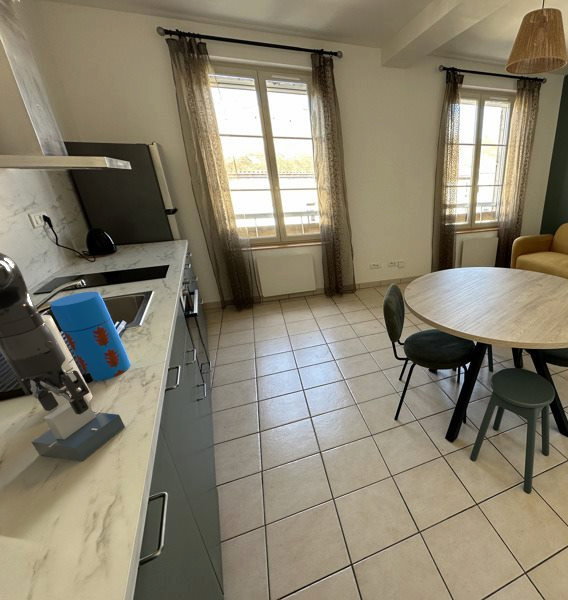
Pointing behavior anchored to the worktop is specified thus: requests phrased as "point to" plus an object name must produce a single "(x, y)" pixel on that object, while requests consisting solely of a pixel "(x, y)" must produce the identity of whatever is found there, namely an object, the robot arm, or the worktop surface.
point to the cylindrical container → (69, 362)
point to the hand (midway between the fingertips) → (67, 410)
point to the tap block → (80, 438)
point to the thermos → (91, 334)
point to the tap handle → (68, 420)
